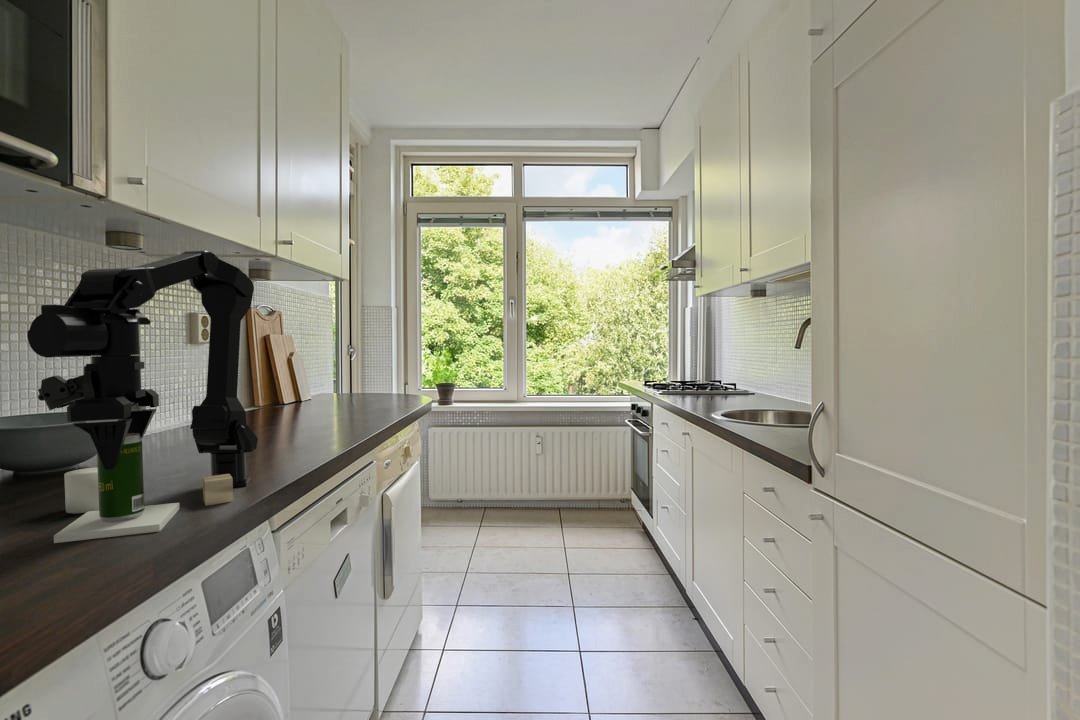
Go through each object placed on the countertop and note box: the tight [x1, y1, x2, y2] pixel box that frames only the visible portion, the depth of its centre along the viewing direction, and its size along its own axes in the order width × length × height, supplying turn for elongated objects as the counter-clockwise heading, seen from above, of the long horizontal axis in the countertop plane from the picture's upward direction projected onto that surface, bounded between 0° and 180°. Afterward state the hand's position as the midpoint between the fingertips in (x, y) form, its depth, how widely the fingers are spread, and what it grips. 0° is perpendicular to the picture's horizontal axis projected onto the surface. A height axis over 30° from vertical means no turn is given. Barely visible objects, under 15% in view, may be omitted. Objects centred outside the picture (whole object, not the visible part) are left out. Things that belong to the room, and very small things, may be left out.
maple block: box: [202, 474, 234, 506], centre depth 96 cm, size 4×4×4 cm
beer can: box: [96, 433, 145, 522], centre depth 84 cm, size 5×5×12 cm
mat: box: [53, 502, 181, 544], centre depth 84 cm, size 12×12×1 cm
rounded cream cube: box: [63, 467, 99, 514], centre depth 93 cm, size 6×6×6 cm
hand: (120, 463), depth 84 cm, fingers open, 9 cm apart
